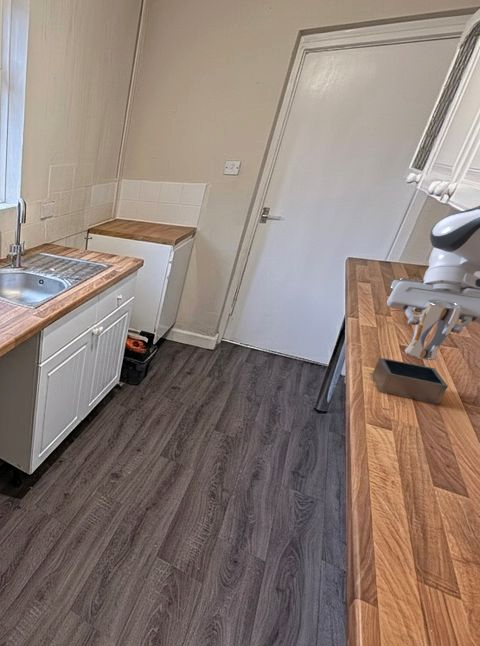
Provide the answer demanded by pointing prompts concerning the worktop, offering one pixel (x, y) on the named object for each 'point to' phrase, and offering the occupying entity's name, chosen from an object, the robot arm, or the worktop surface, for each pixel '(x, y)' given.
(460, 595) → the worktop surface
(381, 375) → the dark gray square tray
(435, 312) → the metal tumbler
